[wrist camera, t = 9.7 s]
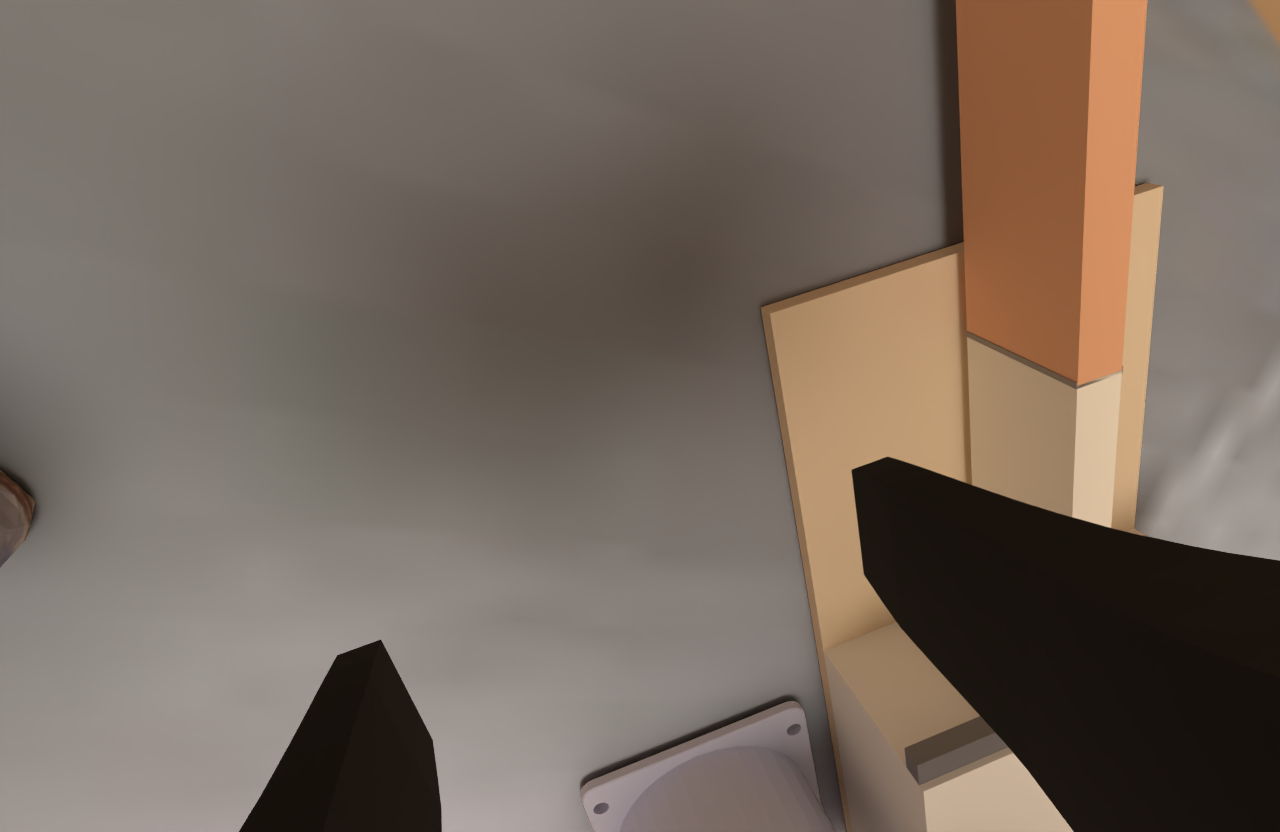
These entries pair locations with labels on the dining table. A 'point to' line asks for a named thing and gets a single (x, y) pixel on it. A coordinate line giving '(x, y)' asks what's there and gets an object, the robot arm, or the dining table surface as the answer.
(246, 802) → the dining table surface
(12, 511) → the flask
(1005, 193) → the long copper stick
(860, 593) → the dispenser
